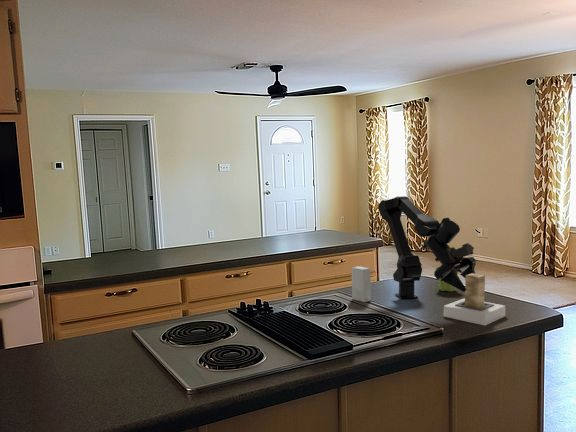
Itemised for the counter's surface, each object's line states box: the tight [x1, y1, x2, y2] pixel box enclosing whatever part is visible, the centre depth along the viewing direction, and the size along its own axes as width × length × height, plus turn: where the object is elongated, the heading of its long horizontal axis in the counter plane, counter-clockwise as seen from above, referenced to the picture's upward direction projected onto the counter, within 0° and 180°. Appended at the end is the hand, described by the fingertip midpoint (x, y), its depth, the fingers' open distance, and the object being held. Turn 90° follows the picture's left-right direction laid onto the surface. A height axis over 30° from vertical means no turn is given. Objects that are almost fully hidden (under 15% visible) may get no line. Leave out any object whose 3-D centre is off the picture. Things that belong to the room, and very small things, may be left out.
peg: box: [464, 273, 486, 308], centre depth 166 cm, size 4×4×13 cm
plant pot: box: [434, 266, 459, 292], centre depth 202 cm, size 9×9×9 cm
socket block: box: [443, 297, 506, 326], centre depth 166 cm, size 14×14×4 cm
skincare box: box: [350, 265, 372, 303], centre depth 188 cm, size 6×4×12 cm
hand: (472, 288), depth 167 cm, fingers open, 9 cm apart
